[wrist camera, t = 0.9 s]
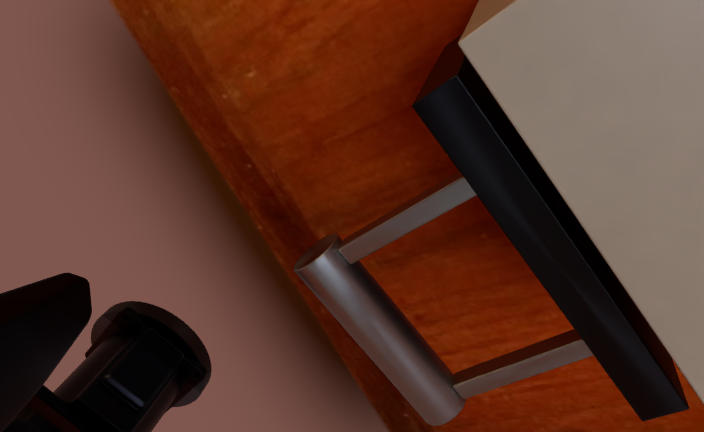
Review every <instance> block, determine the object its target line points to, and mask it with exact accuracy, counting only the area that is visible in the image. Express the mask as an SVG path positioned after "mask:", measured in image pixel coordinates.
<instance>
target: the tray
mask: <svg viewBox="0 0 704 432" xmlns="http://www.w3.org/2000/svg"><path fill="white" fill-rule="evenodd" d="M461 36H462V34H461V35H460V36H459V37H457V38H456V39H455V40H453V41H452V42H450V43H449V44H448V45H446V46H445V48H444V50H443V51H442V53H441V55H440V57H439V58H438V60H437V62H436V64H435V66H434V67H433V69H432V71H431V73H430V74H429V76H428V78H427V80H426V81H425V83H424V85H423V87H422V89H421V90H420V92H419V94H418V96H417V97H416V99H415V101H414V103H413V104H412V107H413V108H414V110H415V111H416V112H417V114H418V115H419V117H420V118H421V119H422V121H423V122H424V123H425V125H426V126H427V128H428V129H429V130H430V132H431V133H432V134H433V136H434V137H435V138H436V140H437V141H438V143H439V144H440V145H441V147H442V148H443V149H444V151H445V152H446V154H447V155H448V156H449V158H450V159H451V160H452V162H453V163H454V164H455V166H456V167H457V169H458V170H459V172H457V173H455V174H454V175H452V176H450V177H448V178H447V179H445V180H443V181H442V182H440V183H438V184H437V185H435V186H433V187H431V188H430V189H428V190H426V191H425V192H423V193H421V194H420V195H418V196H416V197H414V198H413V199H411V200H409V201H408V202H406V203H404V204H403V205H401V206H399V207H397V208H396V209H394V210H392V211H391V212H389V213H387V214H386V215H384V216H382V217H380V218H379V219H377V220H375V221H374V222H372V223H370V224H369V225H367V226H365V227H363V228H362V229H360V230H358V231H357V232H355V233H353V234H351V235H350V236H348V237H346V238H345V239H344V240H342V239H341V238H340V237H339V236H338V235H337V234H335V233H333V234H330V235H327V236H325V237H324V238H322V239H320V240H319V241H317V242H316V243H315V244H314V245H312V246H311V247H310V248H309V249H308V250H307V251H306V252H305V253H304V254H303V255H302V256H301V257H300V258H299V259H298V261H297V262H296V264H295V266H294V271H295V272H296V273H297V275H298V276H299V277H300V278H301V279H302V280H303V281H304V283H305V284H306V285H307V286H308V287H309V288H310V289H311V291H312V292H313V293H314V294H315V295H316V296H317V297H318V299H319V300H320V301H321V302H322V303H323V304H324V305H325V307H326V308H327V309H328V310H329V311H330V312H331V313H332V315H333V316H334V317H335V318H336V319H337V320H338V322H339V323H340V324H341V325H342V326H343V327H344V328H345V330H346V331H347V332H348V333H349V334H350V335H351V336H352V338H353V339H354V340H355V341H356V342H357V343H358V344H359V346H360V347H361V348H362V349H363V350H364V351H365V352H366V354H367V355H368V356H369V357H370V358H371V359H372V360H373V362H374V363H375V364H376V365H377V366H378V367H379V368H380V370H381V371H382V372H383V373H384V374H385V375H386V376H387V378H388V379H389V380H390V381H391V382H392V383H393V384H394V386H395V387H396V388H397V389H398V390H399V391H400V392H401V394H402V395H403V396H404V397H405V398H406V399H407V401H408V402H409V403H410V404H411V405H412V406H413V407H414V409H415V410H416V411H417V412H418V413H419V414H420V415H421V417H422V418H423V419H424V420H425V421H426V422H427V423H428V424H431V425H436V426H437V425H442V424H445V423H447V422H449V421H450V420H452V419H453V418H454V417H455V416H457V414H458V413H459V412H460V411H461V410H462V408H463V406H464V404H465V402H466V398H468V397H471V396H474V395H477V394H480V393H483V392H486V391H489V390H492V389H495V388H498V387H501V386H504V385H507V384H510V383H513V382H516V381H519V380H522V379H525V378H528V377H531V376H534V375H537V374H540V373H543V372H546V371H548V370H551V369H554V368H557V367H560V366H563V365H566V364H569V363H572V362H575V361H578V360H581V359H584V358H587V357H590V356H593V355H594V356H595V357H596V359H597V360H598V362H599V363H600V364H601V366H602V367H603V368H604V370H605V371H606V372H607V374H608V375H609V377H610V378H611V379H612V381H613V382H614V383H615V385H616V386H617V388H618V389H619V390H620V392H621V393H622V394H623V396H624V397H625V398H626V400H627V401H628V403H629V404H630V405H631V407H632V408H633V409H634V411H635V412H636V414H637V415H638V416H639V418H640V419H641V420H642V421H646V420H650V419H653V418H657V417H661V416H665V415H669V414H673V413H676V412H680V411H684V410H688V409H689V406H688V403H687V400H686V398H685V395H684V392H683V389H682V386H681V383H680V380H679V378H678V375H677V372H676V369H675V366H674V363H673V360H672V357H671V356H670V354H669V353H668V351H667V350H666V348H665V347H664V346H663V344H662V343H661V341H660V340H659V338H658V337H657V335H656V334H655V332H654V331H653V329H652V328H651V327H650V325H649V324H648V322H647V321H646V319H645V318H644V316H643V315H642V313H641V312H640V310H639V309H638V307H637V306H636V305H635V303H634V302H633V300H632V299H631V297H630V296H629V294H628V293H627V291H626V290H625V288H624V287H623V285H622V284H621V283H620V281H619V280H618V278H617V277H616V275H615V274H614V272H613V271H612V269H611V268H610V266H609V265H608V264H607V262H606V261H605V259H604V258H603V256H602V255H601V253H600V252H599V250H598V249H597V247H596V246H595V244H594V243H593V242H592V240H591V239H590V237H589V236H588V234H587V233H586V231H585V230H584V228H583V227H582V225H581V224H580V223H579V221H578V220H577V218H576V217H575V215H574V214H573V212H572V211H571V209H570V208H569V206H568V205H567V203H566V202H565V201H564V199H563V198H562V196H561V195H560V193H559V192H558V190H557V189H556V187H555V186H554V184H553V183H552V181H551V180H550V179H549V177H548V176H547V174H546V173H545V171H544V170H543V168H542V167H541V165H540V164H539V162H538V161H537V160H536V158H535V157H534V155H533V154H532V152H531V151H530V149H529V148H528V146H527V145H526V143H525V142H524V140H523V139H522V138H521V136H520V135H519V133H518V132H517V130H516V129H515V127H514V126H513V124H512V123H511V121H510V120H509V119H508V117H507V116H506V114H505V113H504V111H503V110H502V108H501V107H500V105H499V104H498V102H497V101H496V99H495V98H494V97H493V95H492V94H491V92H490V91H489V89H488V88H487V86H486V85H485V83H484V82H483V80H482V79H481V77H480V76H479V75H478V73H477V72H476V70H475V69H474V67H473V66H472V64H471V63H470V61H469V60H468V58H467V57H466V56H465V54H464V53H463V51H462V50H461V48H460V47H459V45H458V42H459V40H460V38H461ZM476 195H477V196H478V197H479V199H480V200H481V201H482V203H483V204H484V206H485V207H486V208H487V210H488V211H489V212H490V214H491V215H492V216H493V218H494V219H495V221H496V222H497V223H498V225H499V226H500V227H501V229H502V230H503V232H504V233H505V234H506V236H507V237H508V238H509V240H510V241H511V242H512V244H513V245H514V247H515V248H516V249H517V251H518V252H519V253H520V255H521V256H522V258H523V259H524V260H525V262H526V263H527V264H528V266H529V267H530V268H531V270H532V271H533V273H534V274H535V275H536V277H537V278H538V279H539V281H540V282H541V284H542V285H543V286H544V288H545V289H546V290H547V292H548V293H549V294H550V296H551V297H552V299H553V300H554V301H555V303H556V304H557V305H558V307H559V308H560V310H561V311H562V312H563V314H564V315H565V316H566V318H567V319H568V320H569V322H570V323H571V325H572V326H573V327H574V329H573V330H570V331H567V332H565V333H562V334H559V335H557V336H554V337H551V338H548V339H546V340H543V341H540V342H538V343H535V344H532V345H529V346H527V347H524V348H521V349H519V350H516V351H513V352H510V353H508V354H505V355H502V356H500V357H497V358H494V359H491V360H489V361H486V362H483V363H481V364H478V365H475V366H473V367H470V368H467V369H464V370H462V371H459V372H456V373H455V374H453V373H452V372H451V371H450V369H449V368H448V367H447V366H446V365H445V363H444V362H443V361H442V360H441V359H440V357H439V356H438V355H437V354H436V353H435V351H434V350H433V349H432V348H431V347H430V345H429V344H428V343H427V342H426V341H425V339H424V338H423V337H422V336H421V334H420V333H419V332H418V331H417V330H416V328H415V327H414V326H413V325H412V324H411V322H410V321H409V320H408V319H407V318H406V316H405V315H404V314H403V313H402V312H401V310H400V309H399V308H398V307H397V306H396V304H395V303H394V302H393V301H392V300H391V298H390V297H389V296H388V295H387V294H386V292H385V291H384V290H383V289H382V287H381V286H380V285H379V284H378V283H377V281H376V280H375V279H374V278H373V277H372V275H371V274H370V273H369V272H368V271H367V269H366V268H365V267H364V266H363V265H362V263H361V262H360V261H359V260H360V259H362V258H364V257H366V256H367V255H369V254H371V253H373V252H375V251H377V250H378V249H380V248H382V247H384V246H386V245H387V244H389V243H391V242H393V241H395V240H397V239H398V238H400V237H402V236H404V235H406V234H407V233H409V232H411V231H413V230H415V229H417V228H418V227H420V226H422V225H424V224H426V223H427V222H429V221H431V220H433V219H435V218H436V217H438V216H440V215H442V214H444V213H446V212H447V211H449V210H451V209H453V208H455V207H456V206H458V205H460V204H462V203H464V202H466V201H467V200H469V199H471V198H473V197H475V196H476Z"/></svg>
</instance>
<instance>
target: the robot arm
mask: <svg viewBox="0 0 704 432" xmlns="http://www.w3.org/2000/svg"><path fill="white" fill-rule="evenodd" d="M91 313H92V307H91V296H90V285H89V282H88V281H87V279H85V278H83V277H80V276H77V275H74V274H71V273H63V274H59V275H56V276H53V277H50V278H47V279H44V280H41V281H38V282H35V283H32V284H29V285H26V286H23V287H20V288H17V289H14V290H10V291H7V292H4V293H1V294H0V432H151V431H152V430H153V429H154V427H155V426H156V424H157V423H158V422H159V420H160V419H161V417H162V416H163V414H164V413H165V412H167V411H168V410H169V409H170V408H171V407H172V406H174V405H175V404H176V403H177V402H178V401H179V400H181V399H182V398H183V397H184V396H185V395H186V394H187V393H189V392H190V391H191V390H192V389H193V388H194V387H195V386H197V385H198V384H199V383H200V382H201V381H202V380H203V379H204V378H205V377H206V375H207V373H208V371H207V369H206V368H205V367H204V366H203V365H202V364H200V363H199V362H198V361H197V360H196V359H194V358H193V357H192V356H191V355H189V354H188V353H187V352H186V351H184V350H183V349H182V348H181V347H179V346H178V345H177V344H176V343H174V342H173V341H172V340H171V339H169V338H168V337H167V336H166V335H165V334H163V333H162V332H161V331H160V330H158V329H157V328H156V327H155V326H153V325H152V324H151V323H150V322H148V321H147V320H146V319H145V318H143V317H142V316H141V315H140V314H139V313H137V312H136V311H135V310H134V309H132V308H130V307H124V308H123V309H122V310H121V311H120V312H119V313H118V314H117V316H116V317H115V318H114V319H113V320H112V322H111V323H110V324H109V325H108V326H107V328H106V329H105V330H104V331H103V333H102V334H101V335H100V336H99V337H98V339H97V340H96V341H95V342H94V343H93V345H92V346H91V347H90V349H89V350H88V351H87V352H86V354H85V357H86V359H85V360H84V361H83V362H82V363H81V364H80V365H79V366H78V368H77V369H76V370H75V371H74V372H73V373H72V374H71V375H70V376H69V377H68V378H67V379H66V380H65V381H64V382H63V383H62V384H61V385H60V386H59V387H58V388H57V389H56V390H55V391H54V392H52V391H50V390H49V389H48V388H47V387H45V386H44V385H43V384H44V383H45V381H46V380H47V379H48V377H49V376H50V375H51V373H52V372H53V370H54V369H55V368H56V366H57V365H58V364H59V362H60V361H61V359H62V358H63V356H64V355H65V354H66V352H67V351H68V349H69V348H70V347H71V346H72V344H73V343H74V341H75V340H76V339H77V337H78V336H79V334H80V333H81V332H82V330H83V329H84V327H85V326H86V325H87V323H88V321H89V319H90V317H91Z"/></svg>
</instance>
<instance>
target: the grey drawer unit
mask: <svg viewBox="0 0 704 432" xmlns="http://www.w3.org/2000/svg"><path fill="white" fill-rule="evenodd" d="M458 45H459V47H460V48H461V50H462V51H463V53H464V54H465V56H466V57H467V58H468V60H469V61H470V63H471V64H472V66H473V67H474V69H475V70H476V72H477V73H478V75H479V76H480V77H481V79H482V80H483V82H484V83H485V85H486V86H487V88H488V89H489V91H490V92H491V94H492V95H493V97H494V98H495V99H496V101H497V102H498V104H499V105H500V107H501V108H502V110H503V111H504V113H505V114H506V116H507V117H508V119H509V120H510V121H511V123H512V124H513V126H514V127H515V129H516V130H517V132H518V133H519V135H520V136H521V138H522V139H523V140H524V142H525V143H526V145H527V146H528V148H529V149H530V151H531V152H532V154H533V155H534V157H535V158H536V160H537V161H538V162H539V164H540V165H541V167H542V168H543V170H544V171H545V173H546V174H547V176H548V177H549V179H550V180H551V181H552V183H553V184H554V186H555V187H556V189H557V190H558V192H559V193H560V195H561V196H562V198H563V199H564V201H565V202H566V203H567V205H568V206H569V208H570V209H571V211H572V212H573V214H574V215H575V217H576V218H577V220H578V221H579V223H580V224H581V225H582V227H583V228H584V230H585V231H586V233H587V234H588V236H589V237H590V239H591V240H592V242H593V243H594V244H595V246H596V247H597V249H598V250H599V252H600V253H601V255H602V256H603V258H604V259H605V261H606V262H607V264H608V265H609V266H610V268H611V269H612V271H613V272H614V274H615V275H616V277H617V278H618V280H619V281H620V283H621V284H622V285H623V287H624V288H625V290H626V291H627V293H628V294H629V296H630V297H631V299H632V300H633V302H634V303H635V305H636V306H637V307H638V309H639V310H640V312H641V313H642V315H643V316H644V318H645V319H646V321H647V322H648V324H649V325H650V327H651V328H652V329H653V331H654V332H655V334H656V335H657V337H658V338H659V340H660V341H661V343H662V344H663V346H664V347H665V348H666V350H667V351H668V353H669V354H670V356H671V357H672V359H673V360H674V362H675V363H676V365H677V366H678V368H679V369H680V370H681V372H682V373H683V375H684V376H685V378H686V379H687V381H688V382H689V384H690V385H691V387H692V388H693V389H694V391H695V392H696V394H697V395H698V397H699V398H700V400H701V401H702V403H703V404H704V0H479V1H478V3H477V5H476V8H475V10H474V12H473V14H472V16H471V18H470V20H469V22H468V24H467V27H466V29H465V31H464V33H463V34H462V36H461V38H460V40H459V42H458Z"/></svg>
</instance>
